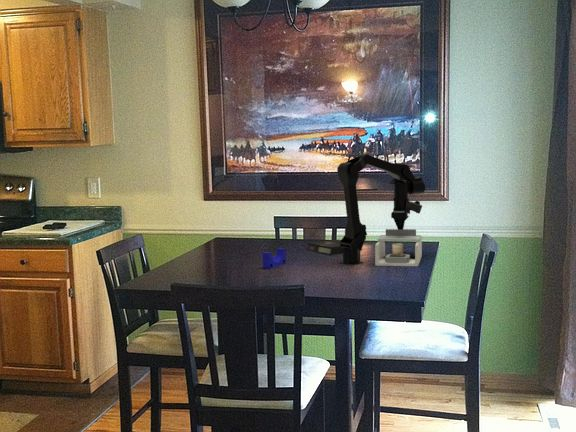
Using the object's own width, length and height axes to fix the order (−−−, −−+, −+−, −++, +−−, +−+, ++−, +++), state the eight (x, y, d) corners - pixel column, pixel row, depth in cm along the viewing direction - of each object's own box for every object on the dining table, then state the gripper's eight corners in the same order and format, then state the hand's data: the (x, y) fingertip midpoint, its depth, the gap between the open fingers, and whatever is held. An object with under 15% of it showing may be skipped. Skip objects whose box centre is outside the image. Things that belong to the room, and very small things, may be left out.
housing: (417, 266, 266) (417, 245, 265) (375, 265, 270) (375, 245, 269) (421, 255, 289) (421, 236, 288) (382, 255, 293) (382, 236, 292)
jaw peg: (398, 262, 270) (397, 245, 269) (390, 260, 273) (390, 244, 272) (405, 260, 272) (405, 244, 271) (397, 259, 276) (397, 242, 275)
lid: (419, 241, 274) (419, 233, 274) (378, 240, 278) (377, 232, 277) (421, 237, 284) (421, 229, 284) (381, 236, 288) (381, 229, 288)
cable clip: (276, 262, 283) (275, 248, 282) (285, 263, 280) (285, 248, 280) (259, 267, 273) (259, 252, 272) (269, 268, 270) (269, 253, 270)
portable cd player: (307, 252, 309) (307, 243, 308) (338, 248, 318) (338, 239, 318) (330, 257, 295) (329, 247, 295) (361, 252, 304) (361, 243, 304)
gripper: (419, 197, 275) (419, 236, 277) (422, 193, 293) (422, 230, 295) (390, 197, 278) (391, 236, 279) (395, 193, 296) (395, 230, 297)
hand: (401, 233), depth 288 cm, fingers closed
